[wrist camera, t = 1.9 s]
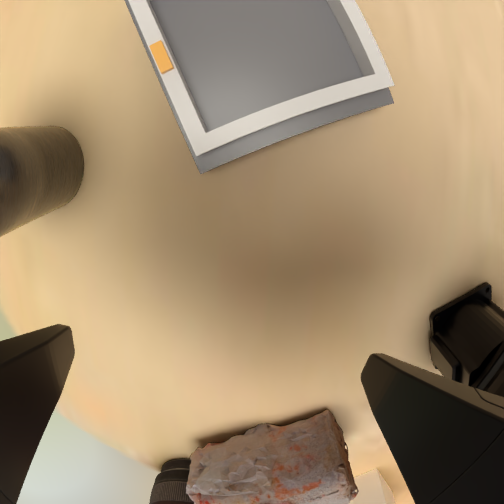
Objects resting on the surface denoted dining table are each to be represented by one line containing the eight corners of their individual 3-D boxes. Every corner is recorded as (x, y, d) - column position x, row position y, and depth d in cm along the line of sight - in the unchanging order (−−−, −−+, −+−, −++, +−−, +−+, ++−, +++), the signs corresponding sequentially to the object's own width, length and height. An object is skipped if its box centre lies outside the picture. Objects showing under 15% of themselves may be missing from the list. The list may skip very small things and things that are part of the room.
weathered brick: (224, 472, 28) (223, 548, 19) (185, 435, 26) (173, 524, 16) (346, 438, 27) (370, 518, 18) (326, 394, 24) (354, 491, 15)
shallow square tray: (297, -49, 13) (309, -84, 9) (376, 106, 17) (409, 100, 13) (134, 6, 14) (110, -21, 10) (206, 169, 18) (195, 178, 14)
